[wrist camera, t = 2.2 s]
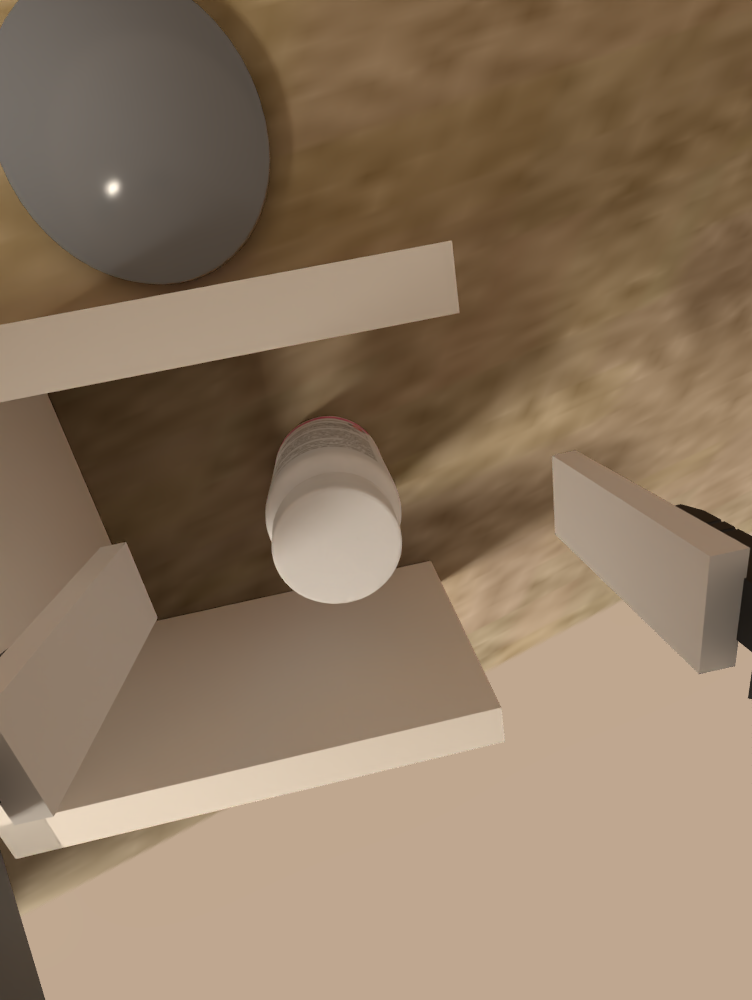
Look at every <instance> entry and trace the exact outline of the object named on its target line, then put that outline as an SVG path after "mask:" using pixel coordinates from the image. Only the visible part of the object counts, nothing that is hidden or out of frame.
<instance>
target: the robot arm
mask: <svg viewBox="0 0 752 1000" xmlns="http://www.w3.org/2000/svg"><path fill="white" fill-rule="evenodd" d="M552 471H553V495H554V518H555V535H556V536H557V537H558V538H559V539H560V540H561V541H562V542H563V543H564V544H566V545H567V546H568V547H569V548H570V549H571V550H572V551H573V552H574V553H575V554H576V555H577V556H578V557H579V558H580V559H581V560H582V561H583V562H584V563H585V564H586V565H587V566H588V567H589V568H590V569H591V570H592V571H593V572H594V573H595V574H596V575H597V576H599V577H600V578H601V579H602V580H603V581H604V582H605V583H606V584H607V585H608V586H609V587H610V588H611V589H612V590H613V591H614V592H615V593H616V594H617V595H618V596H619V597H620V598H621V599H622V600H623V601H624V602H625V603H626V604H627V605H629V607H631V608H632V609H633V610H634V611H635V612H636V613H637V614H638V615H639V616H640V617H641V618H642V619H643V620H644V621H645V622H646V623H647V624H648V625H649V626H650V627H651V628H652V629H653V630H654V631H655V632H656V633H657V634H658V635H659V636H660V637H661V638H662V639H664V641H666V642H667V643H668V644H669V645H670V646H671V647H672V648H673V649H674V650H675V651H676V652H677V653H678V654H679V655H680V656H681V657H682V658H683V659H684V660H685V661H686V662H687V663H688V664H689V665H690V666H691V667H692V668H693V669H694V670H696V672H698V673H699V674H701V673H706V672H710V671H715V670H720V669H724V668H728V667H733V666H735V663H736V655H737V647H738V641H739V642H740V643H741V644H743V645H744V646H745V647H746V648H748V649H749V650H750V651H751V652H752V536H751V535H749V534H747V533H745V532H743V531H741V530H739V529H737V530H736V529H735V527H734V526H732V525H730V524H728V523H726V522H721V519H719V518H717V517H715V516H713V515H711V514H709V513H707V512H706V511H704V510H700V509H696V508H693V507H689V506H685V505H682V504H680V505H676V506H675V505H673V504H671V503H669V502H667V501H666V500H664V499H662V498H660V497H658V496H657V495H655V494H653V493H651V492H650V491H648V490H646V489H644V488H642V487H641V486H639V485H637V484H635V483H634V482H632V481H630V480H628V479H626V478H625V477H623V476H621V475H619V474H618V473H616V472H614V471H612V470H610V469H609V468H607V467H605V466H603V465H601V464H600V463H598V462H596V461H594V460H593V459H591V458H589V457H587V456H585V455H584V454H582V453H580V452H578V451H577V450H574V451H569V452H564V453H560V454H555V455H552ZM157 618H158V617H157V615H156V613H155V610H154V608H153V605H152V603H151V601H150V598H149V596H148V593H147V591H146V589H145V586H144V584H143V581H142V579H141V577H140V574H139V572H138V569H137V567H136V564H135V562H134V560H133V557H132V555H131V552H130V550H129V548H128V545H127V543H126V542H124V543H119V544H114V545H109V546H104V547H100V548H99V549H98V551H97V552H96V553H95V554H94V555H93V556H92V557H91V558H90V559H89V560H88V561H87V563H86V564H85V565H84V566H83V567H82V568H81V569H80V570H79V571H78V572H77V574H76V575H75V576H74V577H73V578H72V579H71V580H70V581H69V582H68V583H67V584H66V586H65V587H64V588H63V589H62V590H61V591H60V592H59V593H58V594H57V595H56V597H55V598H54V599H53V600H52V601H51V602H50V603H49V604H48V605H47V606H46V607H45V609H44V610H43V611H42V612H41V613H40V614H39V615H38V616H37V617H36V618H35V619H34V621H33V622H32V623H31V624H30V625H29V626H28V627H27V628H26V629H25V630H24V632H23V633H22V634H21V635H20V636H19V637H18V638H17V639H16V640H15V641H14V642H13V644H12V645H11V646H10V647H9V648H8V649H6V650H5V651H4V652H2V653H1V654H0V805H1V807H2V808H3V810H4V811H5V813H6V814H7V816H8V817H9V818H10V820H11V821H12V823H13V824H14V825H18V824H23V823H27V822H32V821H36V820H41V819H45V818H50V817H54V815H55V813H56V811H57V809H58V807H59V805H60V803H61V801H62V800H63V798H64V796H65V794H66V792H67V790H68V788H69V786H70V784H71V782H72V780H73V779H74V777H75V775H76V773H77V771H78V769H79V767H80V765H81V763H82V761H83V759H84V758H85V756H86V754H87V752H88V750H89V748H90V746H91V744H92V742H93V740H94V738H95V737H96V735H97V733H98V731H99V729H100V727H101V725H102V723H103V721H104V719H105V717H106V715H107V714H108V712H109V710H110V708H111V706H112V704H113V702H114V700H115V698H116V696H117V694H118V693H119V691H120V689H121V687H122V685H123V683H124V681H125V679H126V677H127V675H128V673H129V672H130V670H131V668H132V666H133V664H134V662H135V660H136V658H137V656H138V654H139V652H140V650H141V649H142V647H143V645H144V643H145V641H146V639H147V637H148V635H149V633H150V631H151V629H152V628H153V626H154V624H155V622H156V620H157ZM748 698H749V699H752V675H751V681H750V688H749V696H748ZM0 1000H45V998H44V994H43V991H42V987H41V984H40V981H39V977H38V974H37V971H36V967H35V964H34V961H33V957H32V954H31V951H30V948H29V944H28V941H27V938H26V934H25V931H24V927H23V924H22V921H21V917H20V914H19V911H18V907H17V904H16V901H15V897H14V894H13V891H12V887H11V884H10V881H9V877H8V874H7V871H6V867H5V864H4V861H3V857H2V854H1V851H0Z"/></svg>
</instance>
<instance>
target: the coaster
mask: <svg viewBox="0 0 752 1000" xmlns="http://www.w3.org/2000/svg"><path fill="white" fill-rule="evenodd" d="M0 163H1V165H2V167H3V170H4V172H5V174H6V176H7V178H8V181H9V183H10V184H11V186H12V188H13V190H14V191H15V193H16V195H17V196H18V198H19V200H20V202H21V203H22V204H23V206H24V207H25V208H26V210H27V211H28V212H29V214H30V215H31V217H32V218H33V219H34V220H35V221H36V222H37V224H38V225H39V226H40V227H41V228H42V229H43V230H44V231H45V232H46V234H48V235H49V236H50V237H51V238H52V239H53V240H54V241H55V242H56V243H57V244H59V245H60V246H61V247H62V248H63V249H65V250H66V251H67V252H69V253H70V254H72V255H73V256H74V257H76V258H77V259H79V260H80V261H82V262H84V263H86V264H87V265H89V266H91V267H93V268H95V269H97V270H99V271H102V272H104V273H106V274H109V275H111V276H114V277H118V278H121V279H125V280H128V281H134V282H141V283H147V284H163V285H168V284H177V283H184V282H187V281H191V280H195V279H198V278H200V277H203V276H205V275H207V274H210V273H212V272H213V271H215V270H217V269H218V268H220V267H221V266H223V265H224V264H225V263H227V262H228V261H229V260H230V259H231V258H233V257H234V256H235V255H236V254H237V253H238V251H239V250H240V249H241V248H242V247H243V246H244V245H245V243H246V242H247V240H248V239H249V237H250V236H251V234H252V233H253V231H254V229H255V227H256V225H257V223H258V221H259V219H260V216H261V214H262V211H263V208H264V204H265V201H266V197H267V192H268V187H269V179H270V164H271V163H270V144H269V138H268V132H267V125H266V121H265V117H264V113H263V110H262V106H261V102H260V99H259V96H258V93H257V90H256V88H255V85H254V83H253V80H252V78H251V75H250V74H249V72H248V70H247V68H246V66H245V64H244V62H243V60H242V58H241V56H240V55H239V53H238V52H237V50H236V49H235V47H234V46H233V44H232V43H231V41H230V39H229V38H228V37H227V36H226V34H225V33H224V32H223V31H222V29H221V28H220V27H219V26H218V25H217V23H216V22H215V21H214V20H213V19H212V18H211V17H210V16H209V15H208V14H207V13H206V12H205V11H204V10H203V9H202V8H201V7H200V6H199V5H197V4H196V3H195V2H194V1H192V0H19V1H18V2H17V3H16V4H15V6H14V7H13V8H12V10H11V11H10V13H9V14H8V16H7V17H6V18H5V20H4V22H3V24H2V26H1V29H0Z"/></svg>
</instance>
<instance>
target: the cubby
mask: <svg viewBox="0 0 752 1000" xmlns="http://www.w3.org/2000/svg"><path fill="white" fill-rule="evenodd" d="M456 313H460V312H459V302H458V293H457V283H456V274H455V264H454V255H453V245H452V241H446V242H441V243H436V244H430V245H425V246H420V247H414V248H409V249H403V250H398V251H393V252H387V253H382V254H377V255H371V256H366V257H361V258H355V259H350V260H345V261H339V262H334V263H329V264H323V265H318V266H313V267H307V268H302V269H297V270H291V271H286V272H280V273H275V274H270V275H264V276H259V277H254V278H248V279H243V280H238V281H232V282H227V283H222V284H216V285H211V286H206V287H200V288H195V289H190V290H184V291H179V292H174V293H168V294H163V295H157V296H152V297H147V298H141V299H136V300H131V301H125V302H120V303H115V304H109V305H104V306H99V307H93V308H88V309H83V310H77V311H72V312H67V313H61V314H56V315H51V316H45V317H40V318H34V319H29V320H24V321H18V322H13V323H8V324H2V325H0V654H1V653H2V652H4V651H5V650H6V649H8V648H9V647H10V646H11V645H12V644H13V642H14V641H15V640H16V639H17V638H18V637H19V636H20V635H21V634H22V633H23V632H24V630H25V629H26V628H27V627H28V626H29V625H30V624H31V623H32V622H33V621H34V619H35V618H36V617H37V616H38V615H39V614H40V613H41V612H42V611H43V610H44V609H45V607H46V606H47V605H48V604H49V603H50V602H51V601H52V600H53V599H54V598H55V597H56V595H57V594H58V593H59V592H60V591H61V590H62V589H63V588H64V587H65V586H66V584H67V583H68V582H69V581H70V580H71V579H72V578H73V577H74V576H75V575H76V574H77V572H78V571H79V570H80V569H81V568H82V567H83V566H84V565H85V564H86V563H87V561H88V560H89V559H90V558H91V557H92V556H93V555H94V554H95V553H96V552H97V551H98V549H99V548H100V547H104V546H109V545H112V544H111V542H110V540H109V537H108V535H107V532H106V530H105V528H104V525H103V523H102V521H101V518H100V516H99V514H98V511H97V509H96V507H95V504H94V502H93V500H92V497H91V495H90V493H89V490H88V488H87V486H86V483H85V481H84V479H83V476H82V474H81V472H80V469H79V467H78V465H77V462H76V460H75V458H74V455H73V453H72V450H71V448H70V446H69V443H68V441H67V439H66V436H65V434H64V432H63V429H62V427H61V425H60V422H59V420H58V418H57V415H56V413H55V411H54V408H53V406H52V404H51V401H50V399H49V397H48V394H47V393H51V392H56V391H61V390H66V389H71V388H76V387H81V386H87V385H92V384H97V383H102V382H107V381H112V380H117V379H123V378H128V377H133V376H138V375H143V374H148V373H153V372H159V371H164V370H169V369H174V368H179V367H184V366H189V365H194V364H200V363H205V362H210V361H215V360H220V359H225V358H230V357H236V356H241V355H246V354H251V353H256V352H261V351H266V350H272V349H277V348H282V347H287V346H292V345H297V344H302V343H308V342H313V341H318V340H323V339H328V338H333V337H338V336H343V335H349V334H354V333H359V332H364V331H369V330H374V329H379V328H385V327H390V326H395V325H400V324H405V323H410V322H415V321H421V320H426V319H431V318H436V317H441V316H446V315H451V314H456ZM501 742H505V738H504V729H503V720H502V710H501V706H500V704H499V702H498V700H497V698H496V695H495V693H494V692H493V689H492V687H491V685H490V683H489V681H488V679H487V677H486V675H485V673H484V670H483V668H482V666H481V664H480V662H479V660H478V658H477V656H476V654H475V652H474V650H473V648H472V645H471V643H470V641H469V639H468V637H467V635H466V633H465V631H464V629H463V627H462V625H461V623H460V620H459V618H458V616H457V614H456V612H455V610H454V608H453V606H452V604H451V602H450V600H449V597H448V595H447V593H446V591H445V589H444V587H443V585H442V583H441V581H440V579H439V577H438V575H437V572H436V570H435V568H434V566H433V564H432V562H431V561H427V562H423V563H418V564H413V565H409V566H404V567H400V568H396V569H395V571H394V572H393V574H392V576H391V577H390V578H389V579H388V581H387V582H386V583H385V584H384V585H382V586H381V587H380V588H379V589H378V590H376V591H375V592H374V593H372V594H370V595H368V596H366V597H364V598H362V599H359V600H356V601H353V602H348V603H339V604H329V603H322V602H317V601H314V600H311V599H308V598H305V597H304V596H302V595H300V594H298V593H297V592H295V591H291V592H286V593H281V594H277V595H272V596H268V597H263V598H259V599H254V600H250V601H245V602H240V603H236V604H231V605H227V606H222V607H218V608H213V609H209V610H204V611H200V612H195V613H190V614H186V615H181V616H177V617H172V618H168V619H163V620H159V621H156V622H155V624H154V626H153V628H152V629H151V631H150V633H149V635H148V637H147V639H146V641H145V643H144V645H143V647H142V649H141V650H140V652H139V654H138V656H137V658H136V660H135V662H134V664H133V666H132V668H131V670H130V672H129V673H128V675H127V677H126V679H125V681H124V683H123V685H122V687H121V689H120V691H119V693H118V694H117V696H116V698H115V700H114V702H113V704H112V706H111V708H110V710H109V712H108V714H107V715H106V717H105V719H104V721H103V723H102V725H101V727H100V729H99V731H98V733H97V735H96V737H95V738H94V740H93V742H92V744H91V746H90V748H89V750H88V752H87V754H86V756H85V758H84V759H83V761H82V763H81V765H80V767H79V769H78V771H77V773H76V775H75V777H74V779H73V780H72V782H71V784H70V786H69V788H68V790H67V792H66V794H65V796H64V798H63V800H62V801H61V803H60V805H59V807H58V809H57V811H56V813H55V815H54V817H50V818H45V819H41V820H36V821H32V822H27V823H23V824H18V825H14V824H13V823H12V821H11V820H10V818H9V817H8V816H7V814H6V813H5V811H4V810H3V808H2V807H1V805H0V837H1V839H2V840H3V842H4V843H5V844H6V846H7V847H8V849H9V850H10V852H11V853H12V854H13V856H14V857H15V859H18V858H23V857H27V856H31V855H35V854H39V853H43V852H48V851H52V850H56V849H60V848H64V847H68V846H73V845H77V844H81V843H85V842H89V841H93V840H98V839H102V838H106V837H110V836H114V835H118V834H123V833H127V832H131V831H135V830H139V829H143V828H148V827H152V826H156V825H160V824H164V823H168V822H173V821H177V820H181V819H185V818H189V817H193V816H198V815H202V814H206V813H210V812H214V811H218V810H223V809H227V808H231V807H235V806H239V805H243V804H247V803H251V802H256V801H260V800H264V799H268V798H272V797H277V796H281V795H285V794H289V793H293V792H297V791H302V790H305V789H310V788H314V787H318V786H322V785H327V784H331V783H335V782H339V781H343V780H347V779H352V778H356V777H360V776H364V775H368V774H372V773H377V772H381V771H385V770H389V769H393V768H397V767H402V766H406V765H410V764H413V763H418V762H422V761H426V760H430V759H435V758H439V757H443V756H447V755H451V754H456V753H460V752H464V751H468V750H472V749H476V748H480V747H485V746H489V745H493V744H497V743H501Z"/></svg>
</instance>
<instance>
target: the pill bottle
mask: <svg viewBox="0 0 752 1000" xmlns="http://www.w3.org/2000/svg"><path fill="white" fill-rule="evenodd" d="M265 512H266V513H265V516H266V526H267V531H268V534H269V537H270V539H271V541H272V556H273V561H274V564H275V566H276V569H277V571H278V573H279V574H280V576H281V578H282V579H283V580H284V581H285V583H286V584H288V586H289V587H290V588H292V589H293V590H294V591H295V592H297V593H298V594H300V595H302V596H304V597H305V598H308V599H311V600H314V601H317V602H322V603H329V604H339V603H348V602H353V601H356V600H359V599H362V598H364V597H366V596H368V595H370V594H372V593H374V592H375V591H376V590H378V589H379V588H380V587H381V586H382V585H384V584H385V583H386V582H387V581H388V579H389V578H390V577H391V576H392V574H393V572H394V571H395V569H396V567H397V565H398V562H399V559H400V556H401V551H402V534H401V529H400V524H401V516H402V509H401V502H400V497H399V493H398V490H397V488H396V486H395V483H394V481H393V479H392V477H391V475H390V473H389V471H388V469H387V467H386V465H385V463H384V461H383V459H382V456H381V454H380V452H379V449H378V447H377V445H376V444H375V442H374V440H373V439H372V437H371V436H370V435H369V434H368V433H367V432H366V431H365V430H364V429H363V428H362V427H361V426H359V425H358V424H356V423H354V422H352V421H350V420H348V419H345V418H341V417H336V416H321V417H316V418H313V419H310V420H307V421H305V422H303V423H301V424H300V425H298V426H296V427H295V428H294V429H293V430H292V431H291V432H290V433H289V434H288V435H287V436H286V437H285V439H284V440H283V442H282V444H281V446H280V448H279V451H278V454H277V458H276V462H275V468H274V472H273V477H272V481H271V485H270V489H269V493H268V497H267V501H266V508H265Z"/></svg>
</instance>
